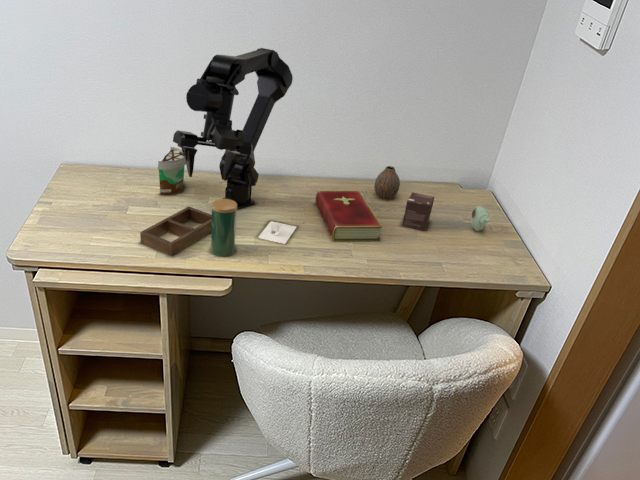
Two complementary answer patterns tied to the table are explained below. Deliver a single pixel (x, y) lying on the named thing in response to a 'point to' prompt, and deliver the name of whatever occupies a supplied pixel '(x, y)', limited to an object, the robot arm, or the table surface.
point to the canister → (223, 227)
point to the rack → (177, 231)
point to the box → (418, 211)
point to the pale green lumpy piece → (480, 217)
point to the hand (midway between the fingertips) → (207, 178)
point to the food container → (172, 172)
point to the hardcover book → (348, 216)
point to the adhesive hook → (277, 232)
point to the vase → (387, 183)
